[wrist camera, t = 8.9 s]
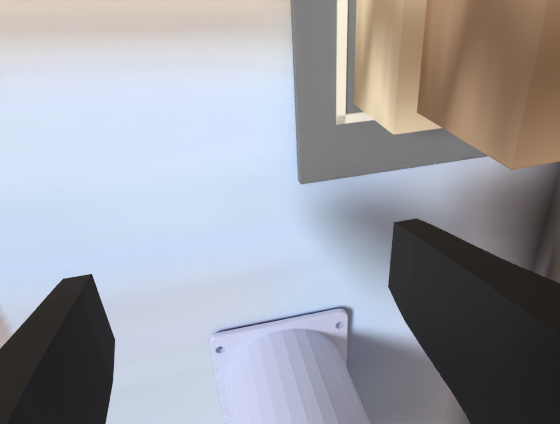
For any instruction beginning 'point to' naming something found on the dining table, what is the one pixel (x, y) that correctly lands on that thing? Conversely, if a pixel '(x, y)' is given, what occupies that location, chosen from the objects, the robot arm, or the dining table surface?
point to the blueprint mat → (348, 105)
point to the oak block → (390, 63)
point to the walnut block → (494, 76)
